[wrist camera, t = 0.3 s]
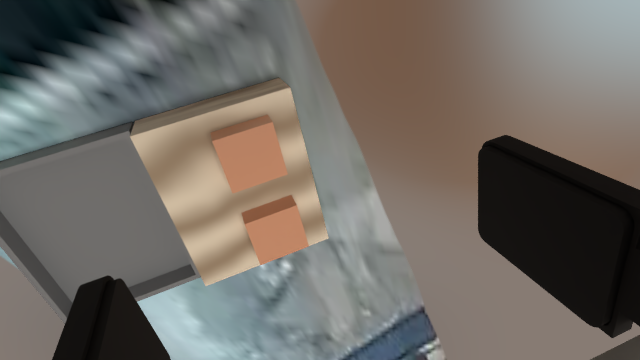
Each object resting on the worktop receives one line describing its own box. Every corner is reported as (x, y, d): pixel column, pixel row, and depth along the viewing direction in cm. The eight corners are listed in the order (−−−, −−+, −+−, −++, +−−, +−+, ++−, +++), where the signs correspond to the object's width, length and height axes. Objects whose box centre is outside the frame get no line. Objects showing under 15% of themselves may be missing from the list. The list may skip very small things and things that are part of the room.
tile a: (210, 132, 38) (212, 141, 36) (267, 114, 39) (272, 121, 37) (229, 183, 41) (232, 193, 39) (282, 164, 42) (287, 174, 40)
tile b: (241, 212, 43) (244, 224, 41) (291, 194, 44) (296, 205, 42) (256, 252, 46) (260, 265, 44) (303, 234, 47) (308, 246, 45)
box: (-35, 171, 37) (-51, 185, 34) (132, 121, 40) (128, 130, 37) (74, 309, 47) (68, 328, 44) (201, 261, 50) (202, 276, 47)
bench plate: (135, 120, 40) (129, 136, 36) (279, 77, 43) (290, 87, 38) (203, 260, 50) (205, 286, 46) (316, 218, 53) (328, 238, 48)
